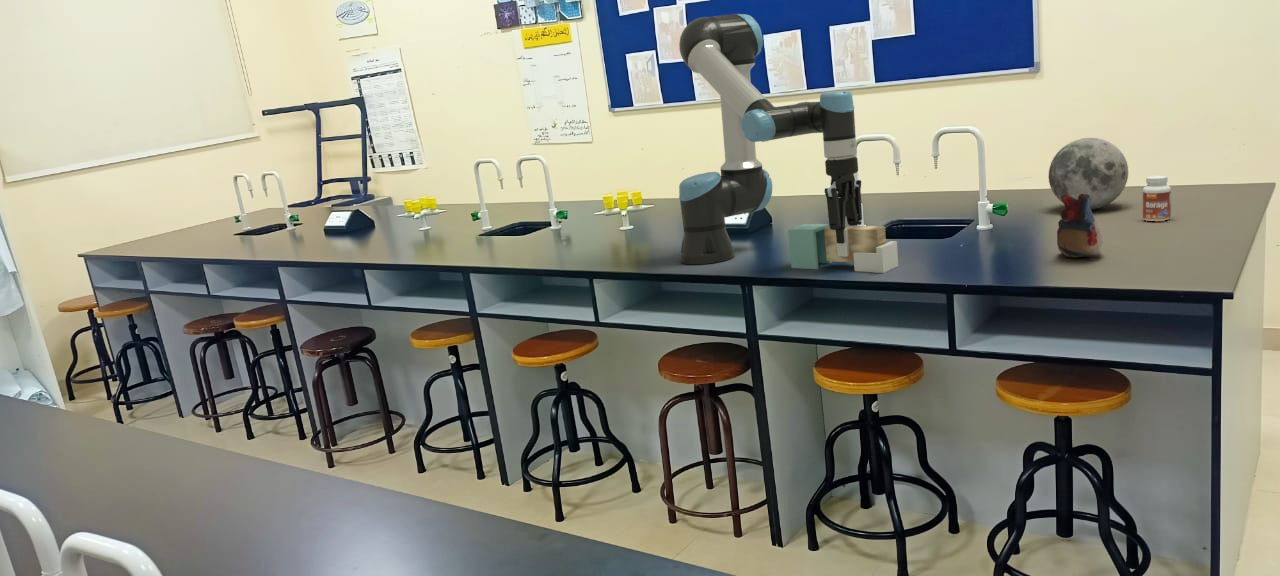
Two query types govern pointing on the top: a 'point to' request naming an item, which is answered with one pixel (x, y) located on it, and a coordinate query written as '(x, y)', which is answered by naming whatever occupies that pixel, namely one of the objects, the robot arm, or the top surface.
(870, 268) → the white stepped block
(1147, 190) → the pill bottle
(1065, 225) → the anatomical model
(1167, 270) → the top surface
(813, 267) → the cap
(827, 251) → the wooden block
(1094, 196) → the moon model
